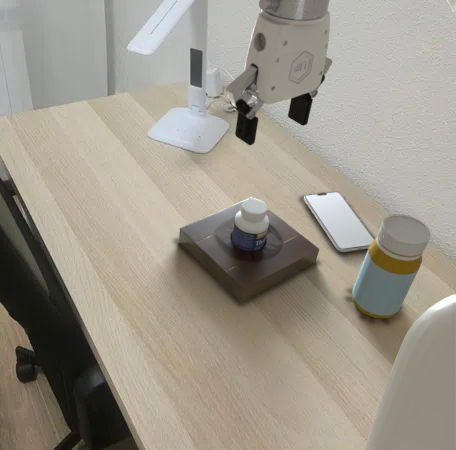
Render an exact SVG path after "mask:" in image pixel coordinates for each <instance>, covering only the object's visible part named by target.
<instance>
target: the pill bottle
mask: <svg viewBox="0 0 456 450" xmlns="http://www.w3.org/2000/svg"><path fill="white" fill-rule="evenodd" d="M246 199H247V200H246ZM246 199H244V200H245V201H244V200H242V201H243V203H242V206H241V210H240V211H239V212H238V213H237V214H236V216H235V221H234V227H233V233H232V239H231V241H232V243H233V244H234V245H235V246H236V247H238V248H240V249H243V250H247V251H256V250H260V249H262V248H264V245H265V240H266V236H267V231H268V226H269V219H268V217H267V208H268V205H267V203H265V202H264V201H263V200H261V199H258V198H255V199H248V198H246Z"/></svg>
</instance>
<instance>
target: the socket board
mask: <svg viewBox="0 0 456 450" xmlns="http://www.w3.org/2000/svg"><path fill="white" fill-rule="evenodd" d="M247 199H256V198H255V197H254V196H251V197H248V198H246V199H244V200H242V201H239V202H237V203H234V204H232V205H230V206H228V207H225V208H223V209H221V210H218V211H216V212H214V213H211V214H210V215H206V216H205V217H203V218H200V219H198V220H196V221H193V222H191V223H189V224H186V225H184V226H181V227H179V232H178V242H179V243H180V244H181V246H183V247H184V248H185V250H187V251H188V252H189V253H190V254H191V255H192V256H193V257H194V258H195V259H196V260H197V261H198V262H199V263H200V264H201V265H202V266H203V267H204V268H205V269H206V270H207V271H208V272H209V273H210V274H211V275H212V276H214V278H215V279H217V281H218V282H219V283H220V284H221V285H223V286H224V287H225V289H226V290H228V291H229V292H230V294H232V295H233V297H235V298H236V299H237V300H238V301H239V302H240V303H243V302H245V301H247V300H248V299H250V298H252V297H255V296H256V295H258V294H259V293H261V292H263V291H265V290H267V289H269V288H270V287H273V286H274V285H275V284H276V285H277V284H278V283H280V282H282V281H284V280H286V279H288V278H289V277H291V276H293V275H294V274H296V273H299V272H300V271H302V270H304V269H306V268H308V267H309V266H311V265H313V264H315V263H316V262H317V259H318V256H319V252H320V247H318V246H316V245H315V244H314V243H313V242H311V241H310V239H307V238H306V237H305V236H304V235H302V234H301V233H300V232H299V231H297V230H296V229H295V228H294V227H292V226H291V225H290V224H289V223H287V222H286V221H285V220H283V219H282V218H280V217H279V216H278V215H277V214H276V213H274V212H273V211H272V210H270V209H269V208H268V207H267V217H268V219H269V226H268V231H267V236H266V240H265V245H264V248H262V249H260V250H256V251H247V250H243V249H240V248H238V247H236V246H235V245H234V244H233V243H232V241H231V239H232V233H233V227H234V221H235V216H236V214H237V213H238V212H239V211H240V210H241V206H242V203H243V201H245V200H247Z"/></svg>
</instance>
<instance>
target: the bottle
mask: <svg viewBox="0 0 456 450" xmlns="http://www.w3.org/2000/svg"><path fill="white" fill-rule="evenodd" d="M430 239H431V230H430V228H429V227H428V226H427V225H426V224H425V223H424V222H423V221H422V220H420V219H418V218H417V217H414V216H411V215H408V214H404V213H394V214H390V215H388V216H386V217H385V218H384V219H383V221H382V222H381V224H380V227H379V229H378V233H377V235H376V237H375V240H373V241H372V243H371V244H370V247H369V249H367V252H366V254H365V257H364V259H363V263H362V264H361V267H360V270H359V272H358V274H357V277H356V280H355V282H354V285H353V288H352V291H351V301H352V303H353V304H354V305H355V307H356V308H357V309H358V310H359V311H360V312H361V313H363V314H364V315H366V316H367V317H370V318H374V319H389V318H392V317H395V315H397V314H398V312H399V310H400V309H401V307H402V305H403V303H404V300H405V299H406V297H407V295H408V292H409V291H410V289H411V286H412V284H413V282H414V280H415V278H416V276H417V274H418V272H419V270H420V268H421V265H422V263H423V253H424V251H425V249H426V247H427V246H428V244H429V241H430Z"/></svg>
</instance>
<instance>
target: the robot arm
mask: <svg viewBox="0 0 456 450" xmlns="http://www.w3.org/2000/svg"><path fill="white" fill-rule="evenodd" d="M330 1H331V0H259V2H258V6H259V9H260V12H259V13H258V14H257V17H256V19H255V23H254V27H253V30H252V33H251V37H250V41H249V45H248V48H247V54H246V59H245V63H244V64H245V65H244V71H243V72H242V73H241V74H239V76H237V77H236V78H235V79H233V80H232V81H231V82H230V83H229V84H228V85H227V86H226V88H225V91H226V95H227V98H228V99H229V104H230V105H231V106H232V107H233V108H234V111H236V112H237V118H236V124H235V131H234V133H235V135H234V136H235V137H236V138H238V139H239V140H240V141H242V142H243V143H245V144H247V146H253V145H254V144H255V143H256V138H257V137H256V136H257V130H258V125H259V117H258V116H257V115H258V113H259V111H260V110H261V108H262V107H263V106H264V104H266V105H275V104H278V103H281V102H285V101H287V100H290V103H289V107H288V112H287V117H288V119H290V120H292V121H294V122H295V123H297V124H299V125H300V126H303V127H305V126H307V125H308V123H309V118H310V113H311V111H312V110H311V109H312V105H313V102H314V101H313V99H314V98H316V97H317V95H318V94H319V91H318V89H319V87H321V85H322V84H323V83H324V81H325V79H326V75H327V73H328V72H329V70H330V68H331V66H332V64H333V59H331V58H329V57H327V54H328V47H329V41H330V40H329V39H330V30H331V27H330V26H331V13H330V11H328V9H329V4H330ZM445 1H446V3H447V4H448V6H449V8H450V9H451V11H452V13H453V14H454V16H455V17H456V0H445ZM252 97H253V98H255V99H254V101H253V102H252V103H251V105H249V104H248V103H249V102H250V100H251V99H252ZM384 388H385V389H384V391H383V394H382V397H381V400H380V403H379V405H378V408H377V411H376V414H375V417H374V419H373V421H372V425H371V428H370V431H369V433H368V437H367V440H366V443H365V447H364V450H456V293H454V294H452V295H449V296H446V297H445V298H443V299H441V300H439V301H437V302H435V303H434V304H433V305H432V306H430V307H429V308H427V309H426V310H425V311H424V312H423V313H422V314H421V315H420V316H419V317H418V318H417V319H416V320H415V321H414V322H413V324H412V325H411V326H410V328H409V329H408V330H407V332H406V334H405V336H404V338H403V340H402V342H401V344H400V348H399V350H398V352H397V354H396V357H395V360H394V362H393V366H392V369H391V371H390V374H389V377H388V380H387V383H386V386H385V387H384Z"/></svg>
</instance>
